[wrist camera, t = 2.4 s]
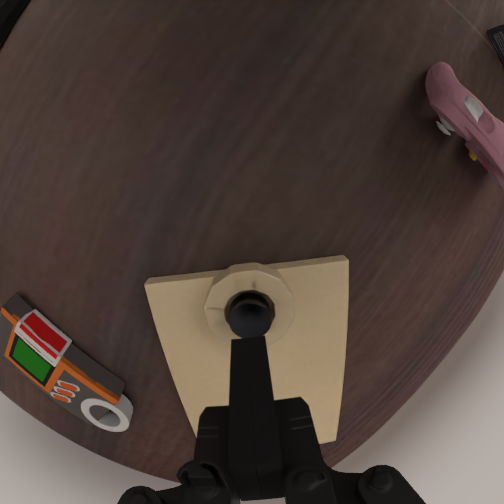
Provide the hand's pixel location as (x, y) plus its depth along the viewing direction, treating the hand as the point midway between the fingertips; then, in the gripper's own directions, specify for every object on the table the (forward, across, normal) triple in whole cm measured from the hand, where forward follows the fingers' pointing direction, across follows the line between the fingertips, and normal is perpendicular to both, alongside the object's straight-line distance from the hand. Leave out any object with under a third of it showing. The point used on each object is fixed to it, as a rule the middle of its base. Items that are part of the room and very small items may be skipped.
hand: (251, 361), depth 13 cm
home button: (+5, 0, 0) cm, 5 cm away
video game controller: (+7, +17, +11) cm, 21 cm away
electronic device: (+7, -17, -6) cm, 19 cm away
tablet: (+7, 0, -7) cm, 10 cm away
